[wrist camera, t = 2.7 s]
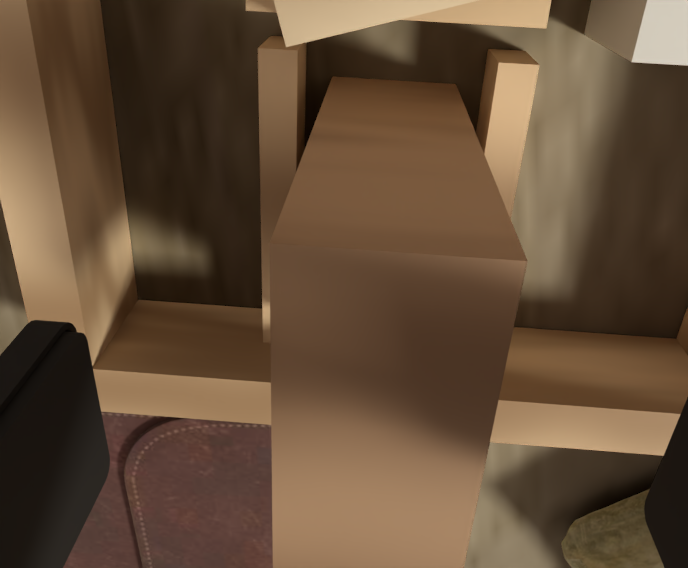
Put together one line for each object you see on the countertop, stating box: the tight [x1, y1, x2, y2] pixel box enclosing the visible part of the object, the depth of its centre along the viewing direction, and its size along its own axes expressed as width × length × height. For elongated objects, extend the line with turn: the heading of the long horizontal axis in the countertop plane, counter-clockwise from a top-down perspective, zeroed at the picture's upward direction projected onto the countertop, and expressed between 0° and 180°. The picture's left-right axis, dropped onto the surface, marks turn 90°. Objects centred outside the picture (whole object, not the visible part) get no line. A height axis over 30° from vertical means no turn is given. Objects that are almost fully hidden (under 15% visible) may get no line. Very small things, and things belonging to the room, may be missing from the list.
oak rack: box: [0, 0, 688, 456], centre depth 17 cm, size 19×22×4 cm
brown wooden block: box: [269, 76, 527, 568], centre depth 15 cm, size 7×4×11 cm, turn 177°
